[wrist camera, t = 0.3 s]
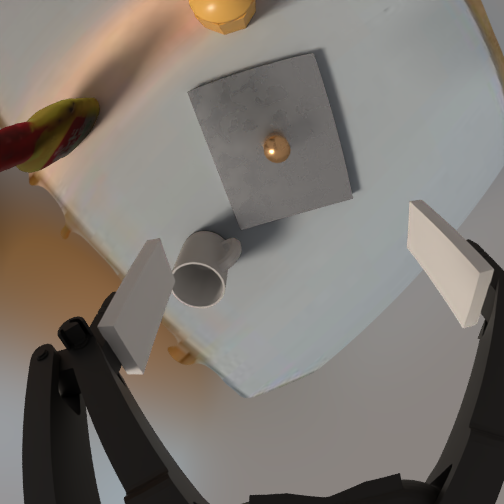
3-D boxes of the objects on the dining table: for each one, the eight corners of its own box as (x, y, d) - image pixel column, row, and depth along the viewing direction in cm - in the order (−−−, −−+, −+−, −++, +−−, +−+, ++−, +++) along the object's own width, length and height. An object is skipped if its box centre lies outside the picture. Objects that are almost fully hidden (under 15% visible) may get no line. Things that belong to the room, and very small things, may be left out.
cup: (173, 244, 46) (157, 278, 38) (227, 210, 43) (221, 241, 35) (202, 278, 49) (192, 315, 41) (255, 249, 46) (255, 284, 38)
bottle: (97, 83, 34) (-5, 97, 16) (117, 118, 36) (24, 152, 19) (44, 132, 37) (-51, 173, 19) (63, 163, 39) (-27, 219, 22)
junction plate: (189, 91, 35) (179, 92, 30) (311, 53, 32) (319, 48, 27) (241, 225, 44) (239, 244, 39) (350, 194, 41) (361, 209, 37)
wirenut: (193, -1, 28) (181, -17, 22) (243, -18, 27) (240, -37, 21) (209, 39, 31) (199, 30, 25) (260, 23, 30) (261, 10, 24)
